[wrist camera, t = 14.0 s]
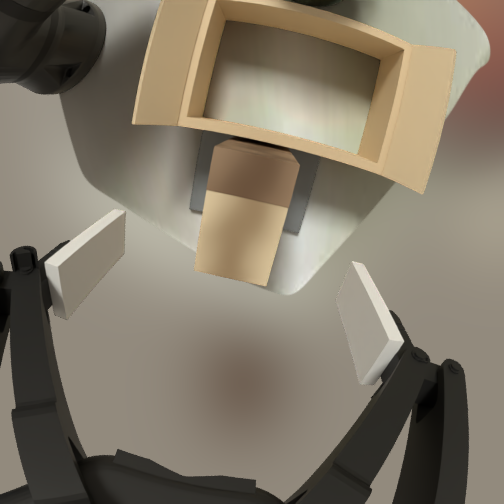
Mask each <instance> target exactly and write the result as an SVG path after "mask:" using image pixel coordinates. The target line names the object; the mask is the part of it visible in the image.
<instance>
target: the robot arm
mask: <svg viewBox="0 0 504 504" xmlns="http://www.w3.org/2000/svg"><path fill="white" fill-rule="evenodd" d="M105 31H106V23H105V18H104V15H103V12H102V11H101V9H100V8H99V7H98V6H97V5H95V4H94V3H92V2H89V1H87V0H0V84H1V83H17V84H19V85H21V86H23V87H25V88H27V89H29V90H30V91H32V92H35V93H38V94H58V93H62V92H64V91H67V90H68V89H70V88H72V87H73V86H75V85H76V84H77V83H78V82H79V81H80V80H81V79H82V78H83V77H84V76H85V75H86V74H87V73H88V72H89V70H90V69H91V67H92V66H93V64H94V63H95V61H96V59H97V57H98V55H99V53H100V51H101V48H102V45H103V42H104V38H105ZM125 216H126V211H123V210H117V209H113V210H112V211H111V212H109V213H108V214H106V215H105V216H104V217H102V218H101V219H99V220H98V221H97V222H95V223H94V224H93V225H91V226H90V227H88V228H87V229H86V230H84V231H83V232H82V233H80V234H79V235H78V236H77V237H75V238H74V239H73V240H71V241H70V240H68V241H65V242H63V243H60V244H59V245H58V246H57V247H55V248H54V249H53V250H51V251H50V252H49V253H48V254H47V255H45V256H44V257H43V258H41V259H40V260H39V261H38V259H37V251H36V249H35V248H34V247H31V246H23V247H19V248H16V249H14V250H13V251H12V252H11V254H10V259H11V264H12V269H13V271H4V270H3V265H2V263H1V262H0V366H1V362H2V357H3V353H4V349H5V344H6V340H7V337H8V333H9V329H10V348H11V367H12V379H13V387H14V395H15V402H16V408H15V409H12V413H11V414H12V422H13V428H14V433H15V438H16V442H17V447H18V451H19V455H20V459H21V463H22V467H23V470H24V474H25V477H26V480H27V483H28V484H26V485H24V486H21V487H19V488H16V489H14V490H11V491H9V492H6V493H3V494H0V504H365V502H366V501H367V499H368V498H369V496H370V494H371V492H372V489H371V488H370V485H371V483H372V481H373V480H374V478H375V477H376V475H377V473H378V472H379V470H380V468H381V467H382V465H383V463H384V461H385V460H386V458H387V456H388V455H389V453H390V451H391V449H392V448H393V446H394V444H395V442H396V440H397V438H398V436H399V434H400V432H401V430H402V428H403V426H404V424H405V422H406V420H407V418H408V416H409V414H410V412H411V409H412V415H411V422H410V428H409V434H408V440H407V445H406V450H405V455H404V460H403V464H402V469H401V473H400V477H399V481H398V485H397V489H396V492H395V496H394V499H393V503H392V504H465V496H466V487H467V474H468V453H469V431H468V430H469V427H468V405H467V393H466V382H465V374H464V370H463V368H462V367H461V365H460V364H459V363H458V362H456V361H454V360H452V359H446V360H445V361H444V362H443V363H442V364H441V366H439V365H437V364H434V363H431V362H430V359H429V356H428V355H427V354H426V352H424V351H423V350H422V349H420V348H418V347H414V346H413V344H412V343H411V340H410V338H409V336H408V334H407V332H406V331H405V328H404V327H403V325H402V323H401V321H400V319H399V317H398V316H397V315H396V314H395V313H394V312H393V311H391V310H388V308H387V306H386V304H385V302H384V301H383V299H382V297H381V295H380V293H379V291H378V289H377V288H376V286H375V284H374V282H373V280H372V279H371V277H370V275H369V273H368V272H367V270H366V268H365V266H364V264H362V263H358V262H354V261H352V262H351V264H350V266H349V269H348V271H347V274H346V276H345V278H344V281H343V283H342V286H341V288H340V290H339V293H338V295H337V297H336V299H335V301H336V304H337V307H338V310H339V314H340V317H341V320H342V323H343V326H344V330H345V334H346V337H347V340H348V344H349V347H350V351H351V354H352V358H353V362H354V365H355V369H356V372H357V376H358V380H359V384H363V385H374V384H375V383H376V382H377V380H378V379H379V378H380V376H381V379H382V382H383V383H382V384H381V386H380V387H379V388H378V390H377V391H376V392H375V393H374V395H373V396H372V397H371V398H372V399H371V401H370V402H369V403H368V405H367V406H366V408H365V409H364V411H363V412H362V414H361V415H360V416H359V418H358V419H357V421H356V422H355V423H354V425H353V426H352V427H351V429H350V430H349V431H348V433H347V434H346V435H345V437H344V438H343V439H342V440H341V442H340V443H339V444H338V445H337V447H336V448H335V449H334V450H333V452H332V453H331V454H330V455H329V456H328V457H327V459H326V460H325V461H324V462H323V463H322V464H321V466H320V467H319V468H318V469H317V470H316V471H315V472H314V473H313V475H312V476H311V477H310V478H309V479H308V480H307V481H306V482H305V483H304V484H303V485H302V486H301V487H300V488H299V490H297V491H296V492H295V493H294V494H293V495H292V496H291V497H289V498H288V499H287V500H286V501H285V502H282V501H281V500H280V499H278V498H277V497H276V496H274V495H272V494H271V493H269V492H267V491H265V490H262V489H260V488H256V480H251V479H243V478H235V477H228V476H195V477H186V476H182V475H179V474H177V473H175V472H173V471H171V470H169V469H167V468H165V467H163V466H161V465H159V464H157V463H155V462H154V461H152V460H150V459H147V458H143V457H140V456H137V455H134V454H131V453H128V452H125V451H122V450H119V449H117V452H116V455H115V456H113V455H99V456H92V457H88V458H87V456H86V454H85V452H84V450H83V448H82V445H81V443H80V441H79V438H78V436H77V433H76V430H75V427H74V424H73V421H72V418H71V415H70V411H69V408H68V405H67V401H66V398H65V395H64V391H63V386H62V382H61V378H60V374H59V370H58V365H57V361H56V356H55V351H54V346H53V339H52V333H51V327H50V319H49V314H48V309H49V308H50V307H51V306H53V311H54V315H55V316H58V317H60V318H63V319H66V320H68V319H69V317H70V316H71V315H72V314H73V312H74V311H75V310H76V309H77V308H78V306H79V305H80V304H81V303H82V301H83V300H84V299H85V298H86V297H87V295H88V294H89V293H90V292H91V291H92V290H93V288H94V287H95V286H96V285H97V284H98V283H99V281H100V280H101V279H102V278H103V277H104V276H105V275H106V273H107V272H108V271H109V270H110V269H111V268H112V266H114V264H115V263H116V262H117V261H118V260H119V259H120V258H121V257H122V256H123V255H124V248H125Z"/></svg>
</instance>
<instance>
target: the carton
mask: <svg viewBox="0 0 504 504" xmlns="http://www.w3.org/2000/svg"><path fill="white" fill-rule="evenodd" d="M226 20H231V21H239V22H246V23H252V24H258V25H264V26H269V27H274V28H279V29H284V30H288V31H293V32H297V33H301V34H305V35H309V36H312V37H316V38H320V39H323V40H326V41H330V42H333V43H336V44H339V45H342V46H345V47H348V48H351V49H354V50H357V51H359V52H362V53H365V54H367V55H370V56H372V57H375V58H377V59H380V60H381V61H380V66H379V71H378V75H377V80H376V84H375V89H374V93H373V97H372V101H371V105H370V109H369V113H368V117H367V121H366V125H365V129H364V133H363V136H362V140H361V144H360V147H359V151H358V154H354V153H351V152H347V151H344V150H341V149H338V148H335V147H331V146H328V145H325V144H321V143H318V142H314V141H311V140H307V139H303V138H299V137H296V136H292V135H288V134H284V133H280V132H275V131H271V130H267V129H262V128H258V127H253V126H248V125H243V124H238V123H233V122H228V121H222V120H216V119H210V118H204V117H203V112H204V108H205V103H206V98H207V94H208V89H209V85H210V81H211V76H212V72H213V68H214V64H215V60H216V56H217V52H218V48H219V44H220V40H221V37H222V33H223V29H224V26H225V22H226ZM455 59H456V51H455V49H449V48H442V47H433V46H423V45H412V44H410V43H407V42H405V41H403V40H401V39H399V38H397V37H395V36H393V35H390V34H388V33H386V32H383V31H381V30H379V29H376V28H374V27H371V26H369V25H366V24H363V23H361V22H358V21H355V20H352V19H350V18H347V17H344V16H341V15H337V14H334V13H331V12H328V11H324V10H321V9H317V8H314V7H310V6H306V5H302V4H297V3H293V2H289V1H284V0H161V2H160V5H159V8H158V11H157V14H156V18H155V21H154V24H153V28H152V31H151V35H150V39H149V42H148V46H147V50H146V54H145V58H144V62H143V67H142V71H141V76H140V81H139V85H138V91H137V96H136V101H135V107H134V113H133V119H132V124H135V125H170V126H182V127H189V128H196V129H202V130H208V131H214V132H219V133H225V134H230V135H235V136H240V137H245V138H250V139H254V140H259V141H263V142H268V143H272V144H276V145H280V146H285V147H289V148H293V149H296V150H300V151H304V152H308V153H311V154H315V155H319V156H322V157H326V158H329V159H332V160H336V161H339V162H342V163H346V164H349V165H352V166H355V167H358V168H361V169H364V170H367V171H370V172H373V173H376V174H379V175H382V176H384V177H386V178H388V179H391V180H393V181H395V182H397V183H399V184H401V185H404V186H406V187H408V188H410V189H412V190H414V191H416V192H418V193H420V194H423V193H424V190H425V188H426V184H427V181H428V178H429V175H430V172H431V168H432V165H433V162H434V158H435V155H436V151H437V147H438V144H439V140H440V136H441V132H442V128H443V124H444V120H445V116H446V111H447V106H448V101H449V96H450V91H451V86H452V80H453V73H454V67H455Z"/></svg>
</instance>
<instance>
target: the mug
mask: <svg viewBox="0 0 504 504" xmlns="http://www.w3.org/2000/svg"><path fill="white" fill-rule="evenodd" d="M292 1H294V2H297V3H300V4H303V5H308V6H318V7H320V6H329V5H334V4H337V3H339V2H341V1H343V0H292Z"/></svg>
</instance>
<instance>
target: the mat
mask: <svg viewBox="0 0 504 504" xmlns="http://www.w3.org/2000/svg"><path fill="white" fill-rule="evenodd" d="M233 137H235V135H230V134H225V133H219V132H214V131H208V130H203V133H202V138H201V143H200V149H199V154H198V160H197V165H196V171H195V177H194V183H193V189H192V196H191V202H190V209H193V210H197V211H202V212H203V208H204V202H205V196H206V188H207V183H208V177H209V172H210V166H211V161H212V156H213V151H214V146H216V145H218V144H220V143H222V142H224V141H226V140H228V139H230V138H233ZM239 137H240V136H239ZM244 138H245V137H244ZM249 139H250V138H249ZM258 141H259V140H258ZM267 143H268V142H267ZM271 144H272V143H271ZM284 147H285V146H284ZM287 148H288V149H289V150H290V152H291V153H292V155H293V156H294V157H295V159H296V160H297V162H298V163H299V165H300V168H299V171H298V175H297V179H296V183H295V186H294V190H293V194H292V198H291V201H290V205H289V208H288V211H287V215H286V218H285V222H284V225H283V230H288V231H292V232H296V233H299V230H300V227H301V223H302V220H303V217H304V213H305V210H306V206H307V203H308V199H309V196H310V192H311V189H312V185H313V182H314V178H315V175H316V171H317V168H318V164H319V160H320V157H321V156H319V155H315V154H311V153H308V152H304V151H300V150H296V149H293V148H289V147H287Z"/></svg>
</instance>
